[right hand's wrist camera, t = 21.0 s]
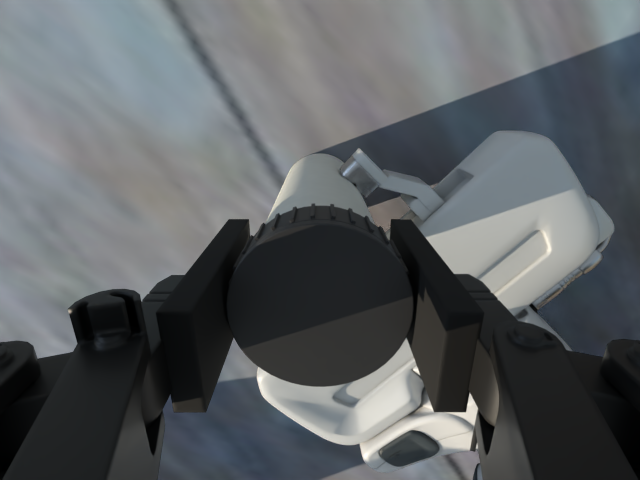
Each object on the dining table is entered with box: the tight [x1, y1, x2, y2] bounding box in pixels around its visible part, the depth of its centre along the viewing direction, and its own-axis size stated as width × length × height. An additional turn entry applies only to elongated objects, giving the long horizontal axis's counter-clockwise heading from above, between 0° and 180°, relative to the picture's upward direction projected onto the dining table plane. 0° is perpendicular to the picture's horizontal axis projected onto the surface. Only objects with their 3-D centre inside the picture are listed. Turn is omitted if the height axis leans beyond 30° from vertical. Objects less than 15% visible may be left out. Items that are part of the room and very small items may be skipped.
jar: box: [266, 153, 375, 224], centre depth 18 cm, size 5×5×15 cm
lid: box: [226, 203, 414, 387], centre depth 11 cm, size 5×5×2 cm
